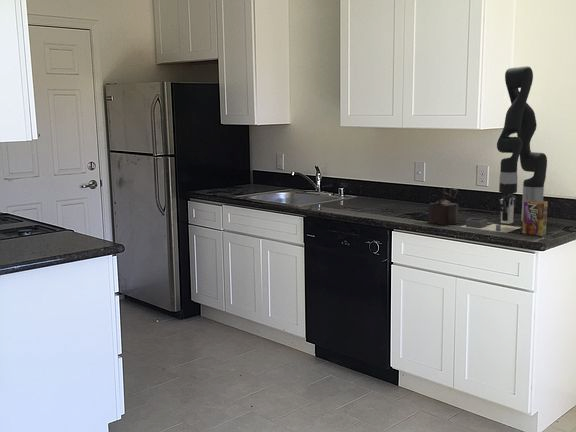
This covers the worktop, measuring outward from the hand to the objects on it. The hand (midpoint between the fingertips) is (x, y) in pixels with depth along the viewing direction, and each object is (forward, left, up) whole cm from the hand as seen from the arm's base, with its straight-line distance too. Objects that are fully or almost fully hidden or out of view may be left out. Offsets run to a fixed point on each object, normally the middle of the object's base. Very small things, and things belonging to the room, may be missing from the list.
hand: (506, 219), depth 292 cm
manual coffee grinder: (+2, -28, -5) cm, 29 cm away
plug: (0, 0, -1) cm, 1 cm away
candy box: (+5, +15, -5) cm, 16 cm away
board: (+2, -6, -5) cm, 8 cm away
